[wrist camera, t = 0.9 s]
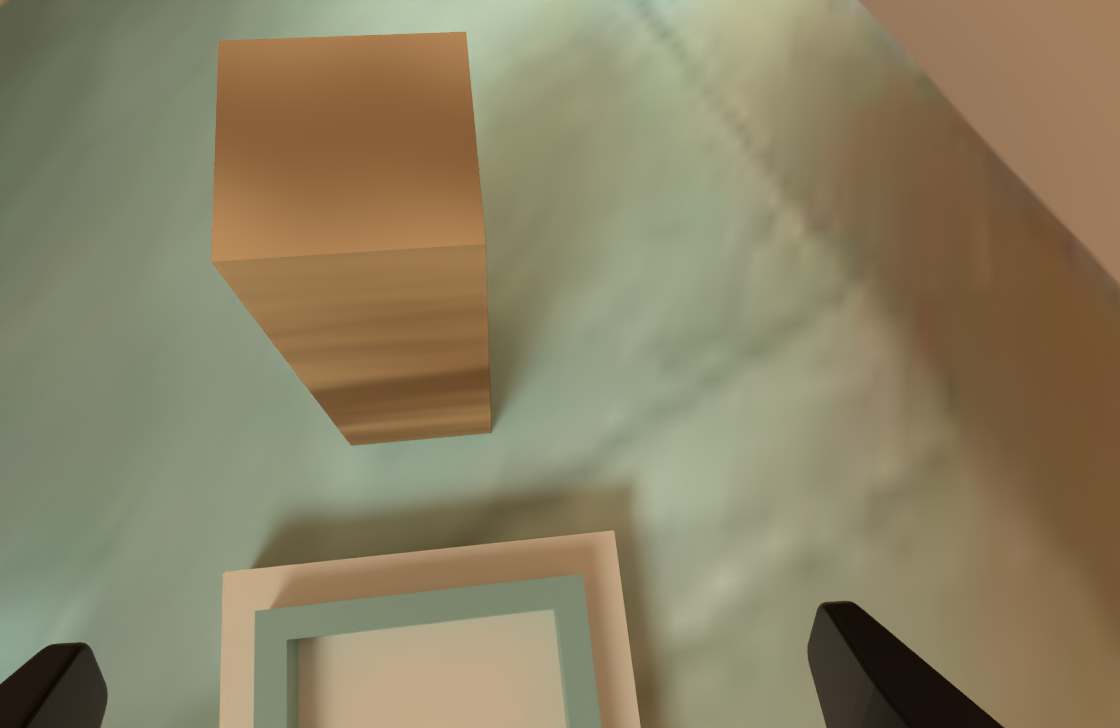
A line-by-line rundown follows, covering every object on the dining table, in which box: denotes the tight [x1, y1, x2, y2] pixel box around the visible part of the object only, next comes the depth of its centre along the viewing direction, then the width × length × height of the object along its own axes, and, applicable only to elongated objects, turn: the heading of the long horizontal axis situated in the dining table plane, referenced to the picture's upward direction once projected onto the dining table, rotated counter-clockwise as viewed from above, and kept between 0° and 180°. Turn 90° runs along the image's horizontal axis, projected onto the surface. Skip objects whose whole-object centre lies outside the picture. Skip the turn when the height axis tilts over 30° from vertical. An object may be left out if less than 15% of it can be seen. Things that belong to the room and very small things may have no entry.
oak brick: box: [211, 32, 491, 446], centre depth 20 cm, size 4×4×13 cm
